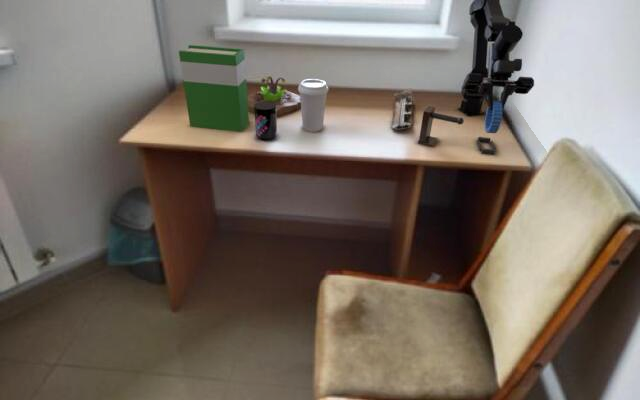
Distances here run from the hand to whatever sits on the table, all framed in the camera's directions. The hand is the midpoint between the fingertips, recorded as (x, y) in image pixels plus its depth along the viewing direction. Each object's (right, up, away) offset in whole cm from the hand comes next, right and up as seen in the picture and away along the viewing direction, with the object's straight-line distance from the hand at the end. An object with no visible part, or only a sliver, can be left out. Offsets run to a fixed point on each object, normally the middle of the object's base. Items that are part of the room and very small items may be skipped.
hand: (496, 110), depth 127 cm
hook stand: (-14, -9, +9) cm, 19 cm away
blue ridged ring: (0, -1, +3) cm, 3 cm away
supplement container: (-68, -6, +11) cm, 69 cm away
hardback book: (-84, -1, +18) cm, 86 cm away
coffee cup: (-53, -2, +17) cm, 56 cm away
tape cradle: (0, -10, +8) cm, 13 cm away
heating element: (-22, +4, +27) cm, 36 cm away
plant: (-68, +8, +32) cm, 76 cm away
